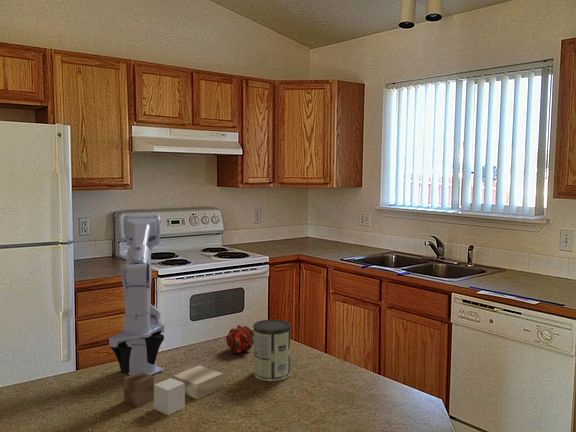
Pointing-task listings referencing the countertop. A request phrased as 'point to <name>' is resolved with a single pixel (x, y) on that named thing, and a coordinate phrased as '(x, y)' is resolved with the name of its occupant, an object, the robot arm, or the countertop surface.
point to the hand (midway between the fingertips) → (138, 368)
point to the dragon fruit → (240, 339)
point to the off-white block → (169, 396)
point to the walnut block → (138, 389)
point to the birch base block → (200, 381)
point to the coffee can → (272, 350)
